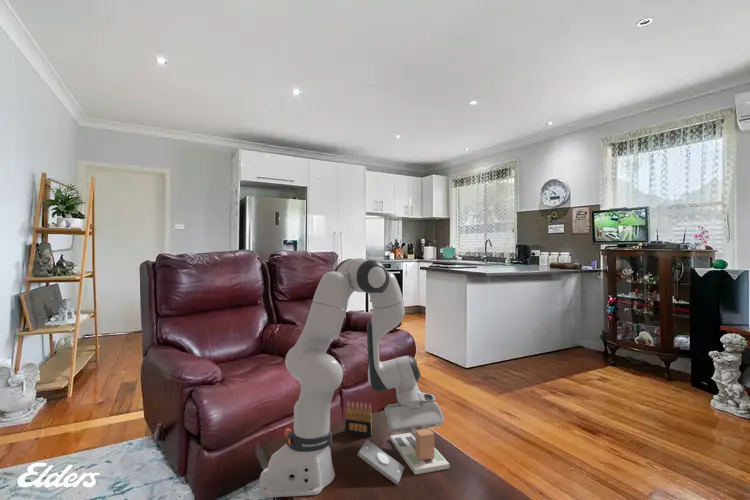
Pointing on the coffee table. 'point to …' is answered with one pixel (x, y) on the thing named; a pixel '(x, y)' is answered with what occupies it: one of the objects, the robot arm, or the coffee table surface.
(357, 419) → the ammunition clip
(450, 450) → the coffee table surface
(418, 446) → the tan rectangular block
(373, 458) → the light switch
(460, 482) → the coffee table surface
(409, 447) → the switch board
